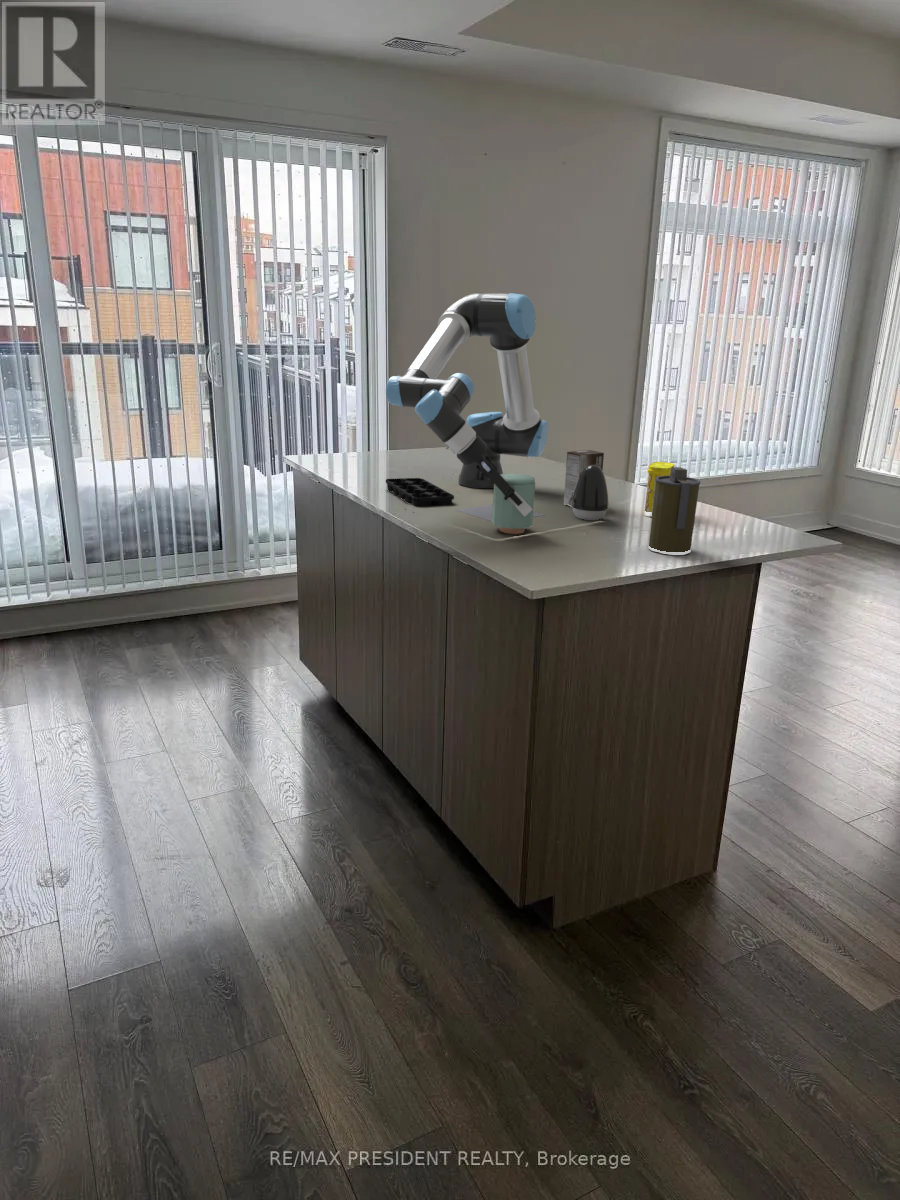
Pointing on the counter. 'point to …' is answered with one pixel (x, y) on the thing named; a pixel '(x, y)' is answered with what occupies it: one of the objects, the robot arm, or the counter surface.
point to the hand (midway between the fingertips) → (524, 507)
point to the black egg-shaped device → (590, 494)
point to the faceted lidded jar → (505, 510)
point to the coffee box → (579, 469)
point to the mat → (485, 512)
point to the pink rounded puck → (512, 530)
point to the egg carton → (419, 492)
